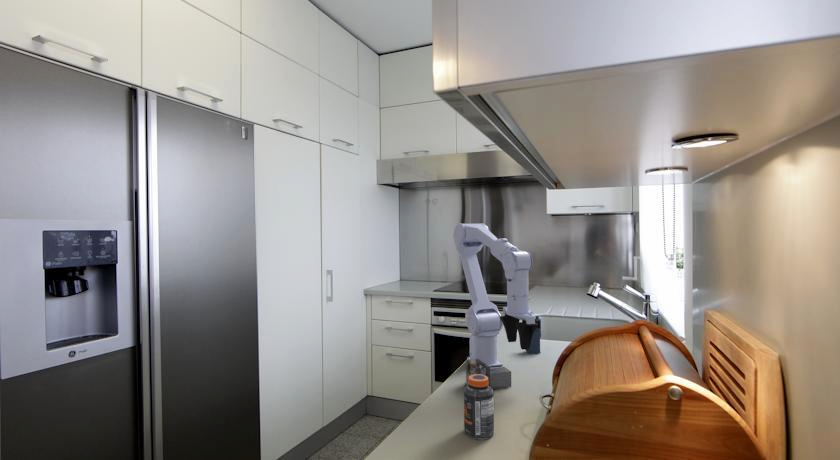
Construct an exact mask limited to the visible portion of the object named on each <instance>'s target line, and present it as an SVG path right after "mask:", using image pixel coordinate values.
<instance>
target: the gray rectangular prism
mask: <svg viewBox="0 0 840 460" xmlns="http://www.w3.org/2000/svg"><path fill="white" fill-rule="evenodd" d="M474 374H476V369H471V370H469V371H467V370H465V385H466V386H465V387H467V386H468V385H469V384H468V377H469V376H470V375H474ZM481 375H485V376H486V369H485V368H481ZM490 387H491V388H492V390H495V389H504V388H512V371H511V370H510V369H508V368H506V367H505V366H498V367H492V368H491V367H490Z"/></svg>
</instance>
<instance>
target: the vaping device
mask: <svg viewBox="0 0 840 460" xmlns="http://www.w3.org/2000/svg"><path fill="white" fill-rule="evenodd" d="M534 316H535V323H537V324H538V327H537V328H536V330H535V332H534V334H533V336H532V340H531V344H530V348H529V349H524V350H525V352H526V353H527V354H541V337H542V319H541V318H540V317H539V315H534Z"/></svg>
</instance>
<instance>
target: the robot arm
mask: <svg viewBox="0 0 840 460" xmlns="http://www.w3.org/2000/svg"><path fill="white" fill-rule="evenodd" d="M452 237H453V240H454V244H455V248H456V251H457V252H458V253H459V257H460V261H461V265H462V267H463V268H462V269H463V273H464V277H465V280H466V281H465V282H466V285H467V288H468V293H469V296H470V301H471V303H472V305H470V307H468V309H467V310H466V312H465V314H466V326H467V329H468V331H469V332H470V333H471V335H470V337H469V356H468V357H467V358H466V360H468V359H469V358H470V359H469V360H470V361H472V362H476V359H479V360H481V361H482V362H483V363H485V364H486V365H488V366H489V367H490V368H491V367H497V366H498V367H501V366H503V363H502V362H501V361H499V360H498V335H499V334H500V332H501V330H502V329H503V327H504V331H505V334H506V339H507V342H508V343H516V342H517V337H519V345H520V349H521V350H522V351H523V350H525V349H529V348H530V344H531V340H532V336H533V334H534V332H535V330H536V328H537V327H538V324H537V323H535V316H536V315H533V310H530V301H529V300H530V297H529V296H530V295H529V294H530V293H529V291H530V290H529V289H530V288H529V287H530V286H529V285H530V284H529V280H530V279H529V272H530V271H531V270H532V269H533V266H534V259H533V255H532V254H531V253H530V252H529V250H527V249H526V250H520V249H518V247H517V246H515V245H513V244H512V243H510V242H509V239H508V238H505V237H504V238H503V237H502V238H498V237H497V236H496V235H494V233H492V232H491V231H490V229H489V226H488V225H486V224H485V223H483V222H481V223H461V222H459V223H457V224H456V225H455V227H454V230H453V234H452ZM484 245H485V246H486V247H488V248H489V249H490V253H491V255H492V256H493V257H495V258H496V260H497V261H500V263H501V265H502V268H503V270H504V277H505V278H506V298H507V299H506V302H507V303H506V306H503V307H502V310H503V311H502V314H503V315H501V313H500V311H499V309H498V306H497V305H496V304H495V303H493V302H492V301H491V300H489V297H488V293H487V290H486V285H485V282H484V279H483V275H482V271H481V266H480V264H479V260H478V256H477V254H478V252H480V251H481V250H482V248H483V247H484ZM480 368H481V369H482V368H484V367H483V366H481V365H480Z"/></svg>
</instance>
